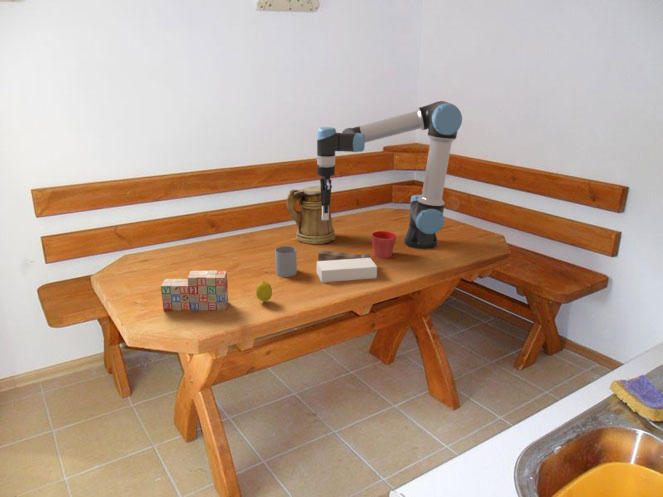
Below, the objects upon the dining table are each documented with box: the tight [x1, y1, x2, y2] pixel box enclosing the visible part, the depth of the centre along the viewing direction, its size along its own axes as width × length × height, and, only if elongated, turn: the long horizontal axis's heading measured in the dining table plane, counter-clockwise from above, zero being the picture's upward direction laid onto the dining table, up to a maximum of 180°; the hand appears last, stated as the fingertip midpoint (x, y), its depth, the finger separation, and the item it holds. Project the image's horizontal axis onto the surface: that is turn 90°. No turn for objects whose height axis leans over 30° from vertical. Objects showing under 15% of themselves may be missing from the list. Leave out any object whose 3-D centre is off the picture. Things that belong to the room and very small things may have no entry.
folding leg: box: [317, 249, 371, 261], centre depth 222 cm, size 22×4×5 cm, turn 72°
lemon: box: [255, 281, 273, 303], centre depth 187 cm, size 6×6×8 cm
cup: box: [274, 245, 298, 278], centre depth 212 cm, size 8×8×10 cm
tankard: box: [286, 185, 336, 245], centre depth 248 cm, size 18×24×25 cm
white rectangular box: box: [316, 257, 378, 284], centre depth 211 cm, size 22×10×5 cm, turn 102°
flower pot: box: [371, 230, 397, 259], centre depth 232 cm, size 11×11×10 cm
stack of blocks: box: [160, 269, 229, 311], centre depth 183 cm, size 21×6×12 cm, turn 93°
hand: (325, 219), depth 231 cm, fingers closed
